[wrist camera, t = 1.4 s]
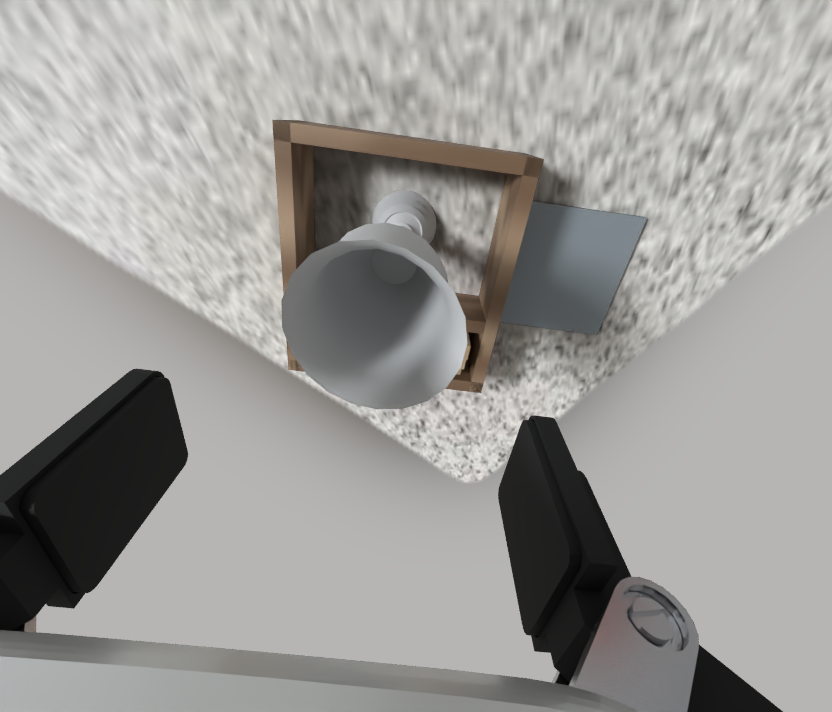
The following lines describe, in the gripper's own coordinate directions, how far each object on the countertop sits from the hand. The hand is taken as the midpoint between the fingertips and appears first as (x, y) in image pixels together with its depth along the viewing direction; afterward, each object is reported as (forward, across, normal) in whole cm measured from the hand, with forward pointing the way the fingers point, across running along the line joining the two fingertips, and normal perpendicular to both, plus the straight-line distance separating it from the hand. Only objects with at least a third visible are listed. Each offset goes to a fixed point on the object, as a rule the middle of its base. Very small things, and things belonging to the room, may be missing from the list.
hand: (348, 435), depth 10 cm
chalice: (+23, 0, -1) cm, 23 cm away
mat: (+23, -14, +1) cm, 27 cm away
